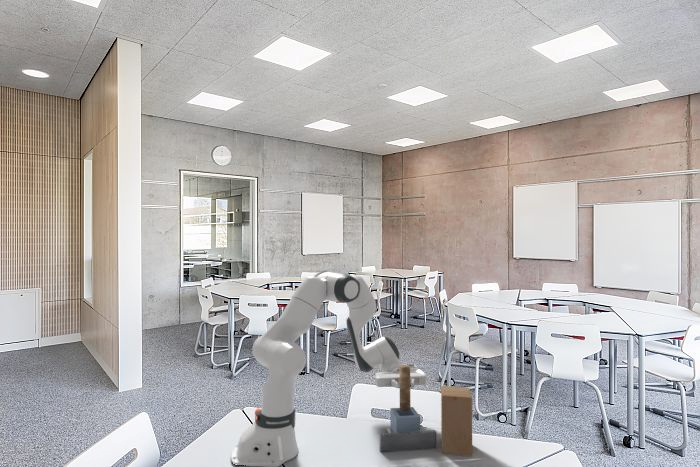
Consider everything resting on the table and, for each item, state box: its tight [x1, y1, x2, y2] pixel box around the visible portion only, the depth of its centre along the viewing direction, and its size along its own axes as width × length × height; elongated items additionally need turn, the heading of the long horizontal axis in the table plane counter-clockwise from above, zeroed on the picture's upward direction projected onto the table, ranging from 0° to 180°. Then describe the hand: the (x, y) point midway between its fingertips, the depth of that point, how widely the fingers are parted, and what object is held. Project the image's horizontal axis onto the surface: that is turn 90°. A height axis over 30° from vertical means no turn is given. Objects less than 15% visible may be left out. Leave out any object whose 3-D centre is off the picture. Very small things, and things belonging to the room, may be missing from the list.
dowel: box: [399, 364, 411, 411], centre depth 153 cm, size 4×4×16 cm
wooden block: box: [440, 385, 473, 457], centre depth 142 cm, size 10×10×20 cm
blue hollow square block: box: [389, 406, 421, 433], centre depth 153 cm, size 9×9×8 cm
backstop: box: [379, 427, 438, 454], centre depth 148 cm, size 20×16×6 cm
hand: (405, 385), depth 152 cm, fingers closed on dowel, 4 cm apart
